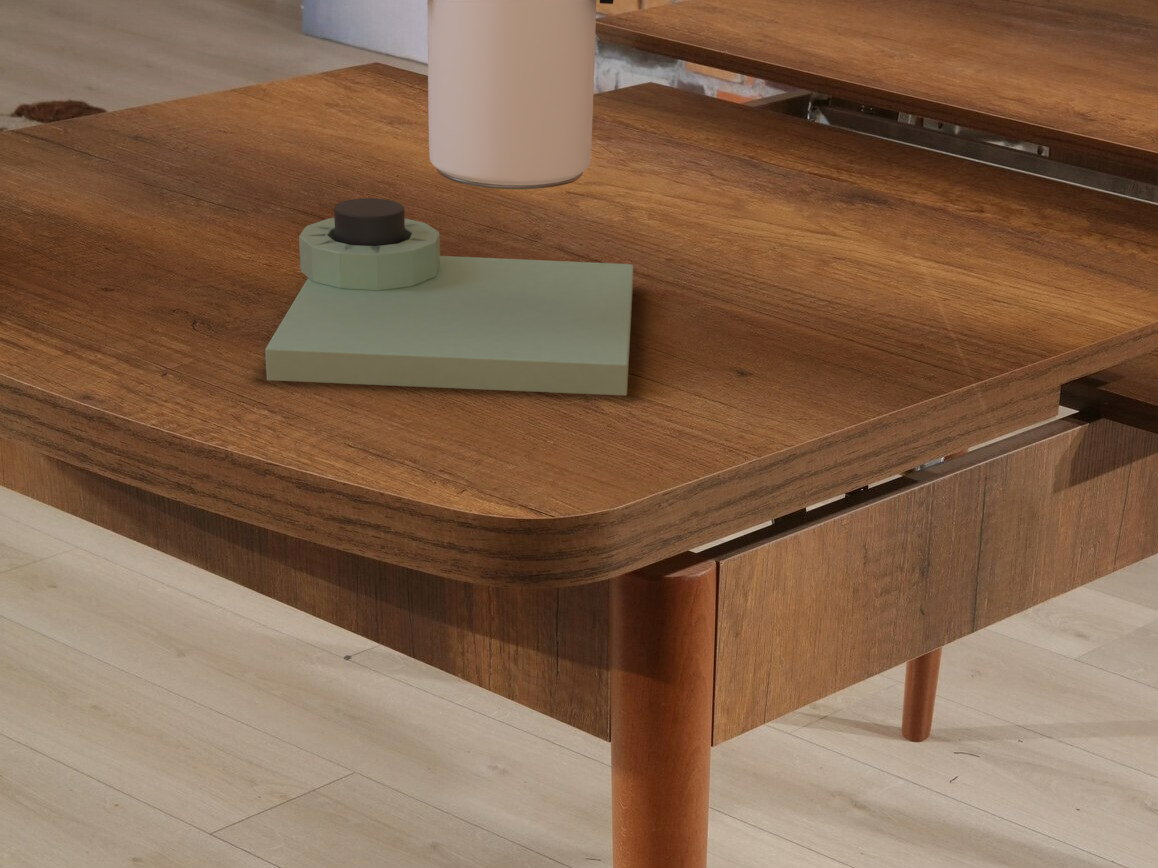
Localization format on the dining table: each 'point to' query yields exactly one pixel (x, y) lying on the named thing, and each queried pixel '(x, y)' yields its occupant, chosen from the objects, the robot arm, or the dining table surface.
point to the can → (511, 91)
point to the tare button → (369, 222)
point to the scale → (452, 319)
